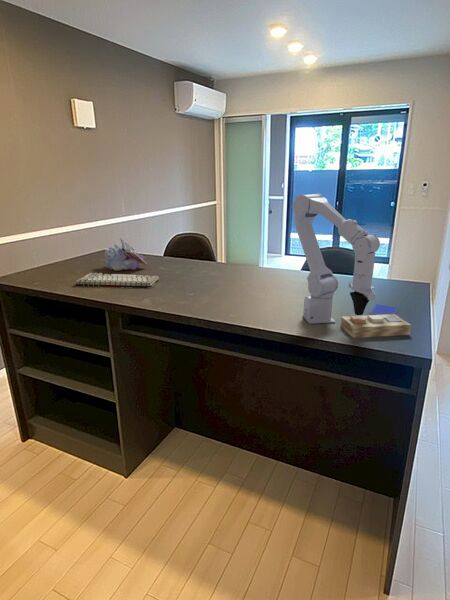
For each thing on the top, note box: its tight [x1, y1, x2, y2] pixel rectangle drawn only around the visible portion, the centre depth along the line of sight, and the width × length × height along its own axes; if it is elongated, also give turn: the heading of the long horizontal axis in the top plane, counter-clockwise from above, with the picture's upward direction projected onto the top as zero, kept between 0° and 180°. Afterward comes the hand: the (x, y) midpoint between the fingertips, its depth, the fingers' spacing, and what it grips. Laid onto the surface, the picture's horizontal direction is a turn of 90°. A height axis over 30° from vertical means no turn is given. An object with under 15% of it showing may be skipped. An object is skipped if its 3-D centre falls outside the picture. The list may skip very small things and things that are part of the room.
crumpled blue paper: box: [104, 237, 148, 272], centre depth 211 cm, size 20×22×18 cm
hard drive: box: [368, 304, 399, 315], centre depth 144 cm, size 2×8×12 cm
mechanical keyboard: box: [74, 272, 160, 289], centre depth 185 cm, size 38×19×3 cm, turn 86°
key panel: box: [340, 314, 412, 339], centre depth 127 cm, size 19×10×4 cm, turn 97°
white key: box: [367, 314, 384, 323], centre depth 127 cm, size 4×4×2 cm
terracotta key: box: [350, 315, 366, 324], centre depth 126 cm, size 4×4×2 cm
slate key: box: [384, 317, 401, 322], centre depth 128 cm, size 4×4×2 cm
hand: (358, 314), depth 125 cm, fingers closed
